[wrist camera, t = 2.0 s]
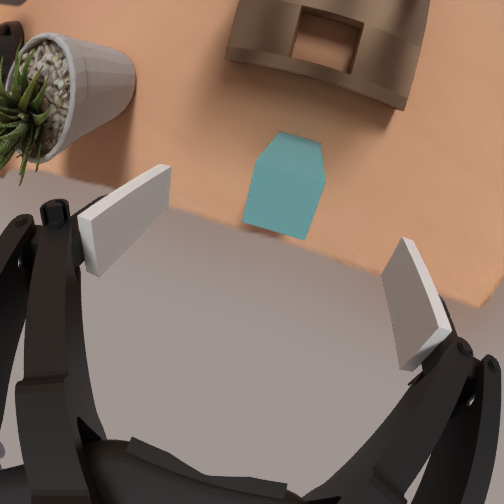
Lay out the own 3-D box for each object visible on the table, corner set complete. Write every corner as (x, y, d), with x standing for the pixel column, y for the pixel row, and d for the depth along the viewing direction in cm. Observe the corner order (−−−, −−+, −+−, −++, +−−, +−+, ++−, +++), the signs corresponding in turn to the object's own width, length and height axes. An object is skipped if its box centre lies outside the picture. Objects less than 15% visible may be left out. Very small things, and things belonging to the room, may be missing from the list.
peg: (270, 168, 27) (241, 221, 17) (279, 131, 24) (255, 160, 15) (308, 179, 27) (304, 240, 17) (320, 143, 24) (325, 181, 14)
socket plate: (232, 61, 21) (224, 59, 19) (266, -61, 12) (262, -71, 10) (395, 109, 20) (403, 111, 18) (424, -16, 11) (432, -23, 9)
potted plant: (61, 113, 27) (-62, 167, 10) (102, 23, 19) (-46, 31, 3) (117, 160, 29) (-16, 246, 13) (173, 62, 22) (-6, 73, 6)
